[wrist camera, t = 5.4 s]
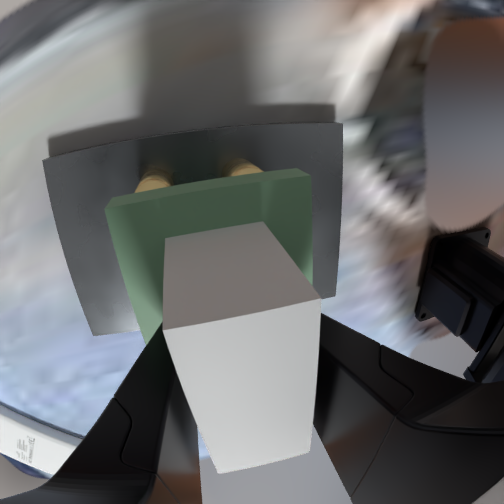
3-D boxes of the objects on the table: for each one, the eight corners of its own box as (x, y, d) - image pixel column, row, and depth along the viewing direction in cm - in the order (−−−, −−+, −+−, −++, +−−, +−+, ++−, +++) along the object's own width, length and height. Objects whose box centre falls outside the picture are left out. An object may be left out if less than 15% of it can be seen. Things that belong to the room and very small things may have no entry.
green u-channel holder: (296, 168, 9) (397, 223, 5) (300, 356, 12) (349, 452, 8) (111, 197, 8) (57, 285, 4) (169, 384, 11) (179, 492, 7)
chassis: (334, 122, 14) (373, 128, 11) (329, 288, 18) (356, 322, 15) (49, 157, 11) (17, 172, 8) (95, 326, 15) (85, 369, 12)
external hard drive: (112, 480, 23) (-3, 439, 18) (136, 449, 21) (-4, 396, 16) (112, 493, 22) (-6, 452, 17) (136, 465, 20) (-10, 411, 15)
